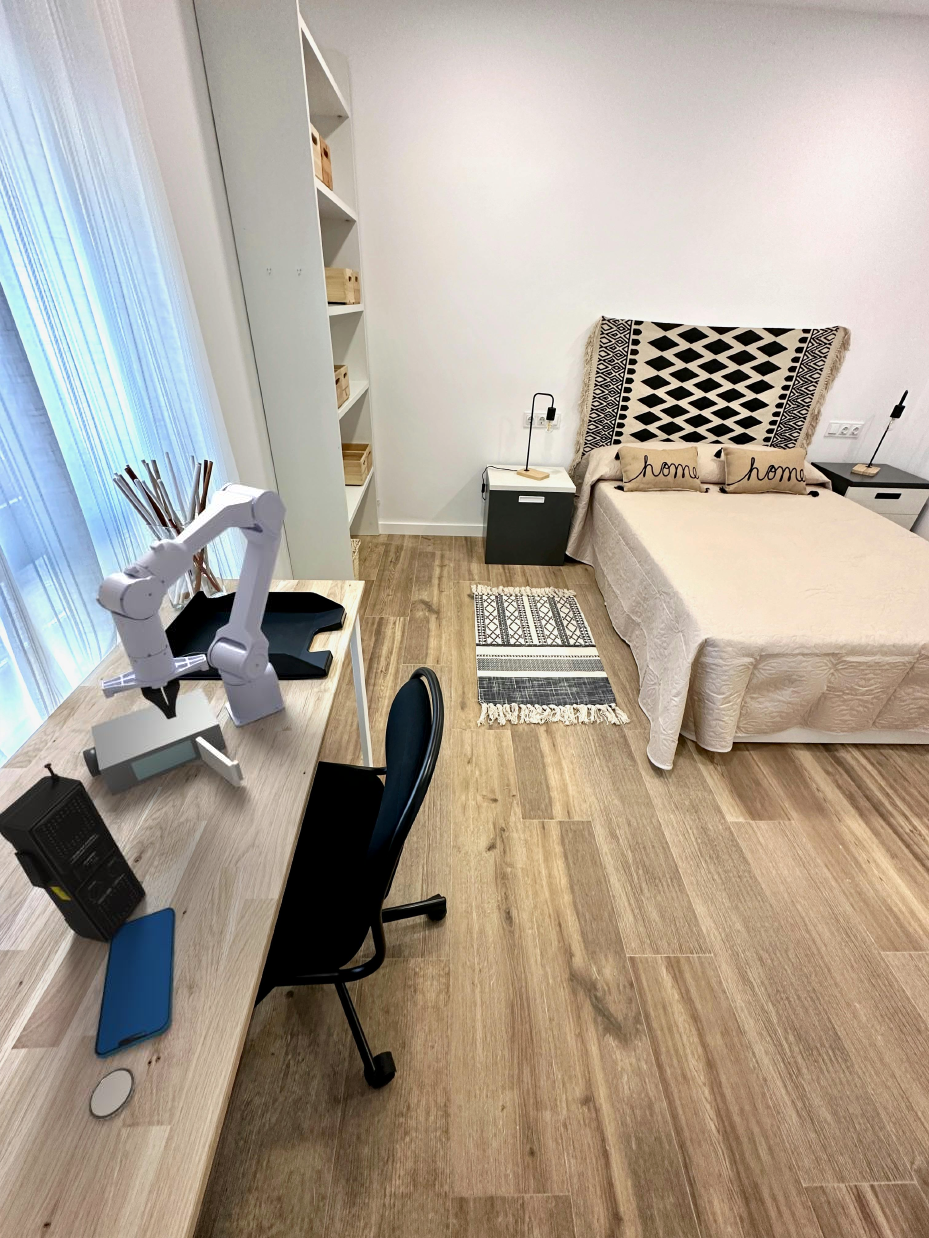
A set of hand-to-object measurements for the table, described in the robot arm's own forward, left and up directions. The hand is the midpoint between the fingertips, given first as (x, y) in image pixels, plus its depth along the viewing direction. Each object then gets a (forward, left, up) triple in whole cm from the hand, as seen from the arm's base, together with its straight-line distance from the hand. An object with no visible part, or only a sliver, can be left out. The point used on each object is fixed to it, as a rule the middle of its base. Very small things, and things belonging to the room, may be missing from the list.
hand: (171, 714), depth 85 cm
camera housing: (+3, -5, -10) cm, 12 cm away
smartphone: (+13, +33, -11) cm, 37 cm away
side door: (-4, +7, -10) cm, 13 cm away
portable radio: (+15, +23, -11) cm, 30 cm away
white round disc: (+17, +44, -11) cm, 48 cm away
